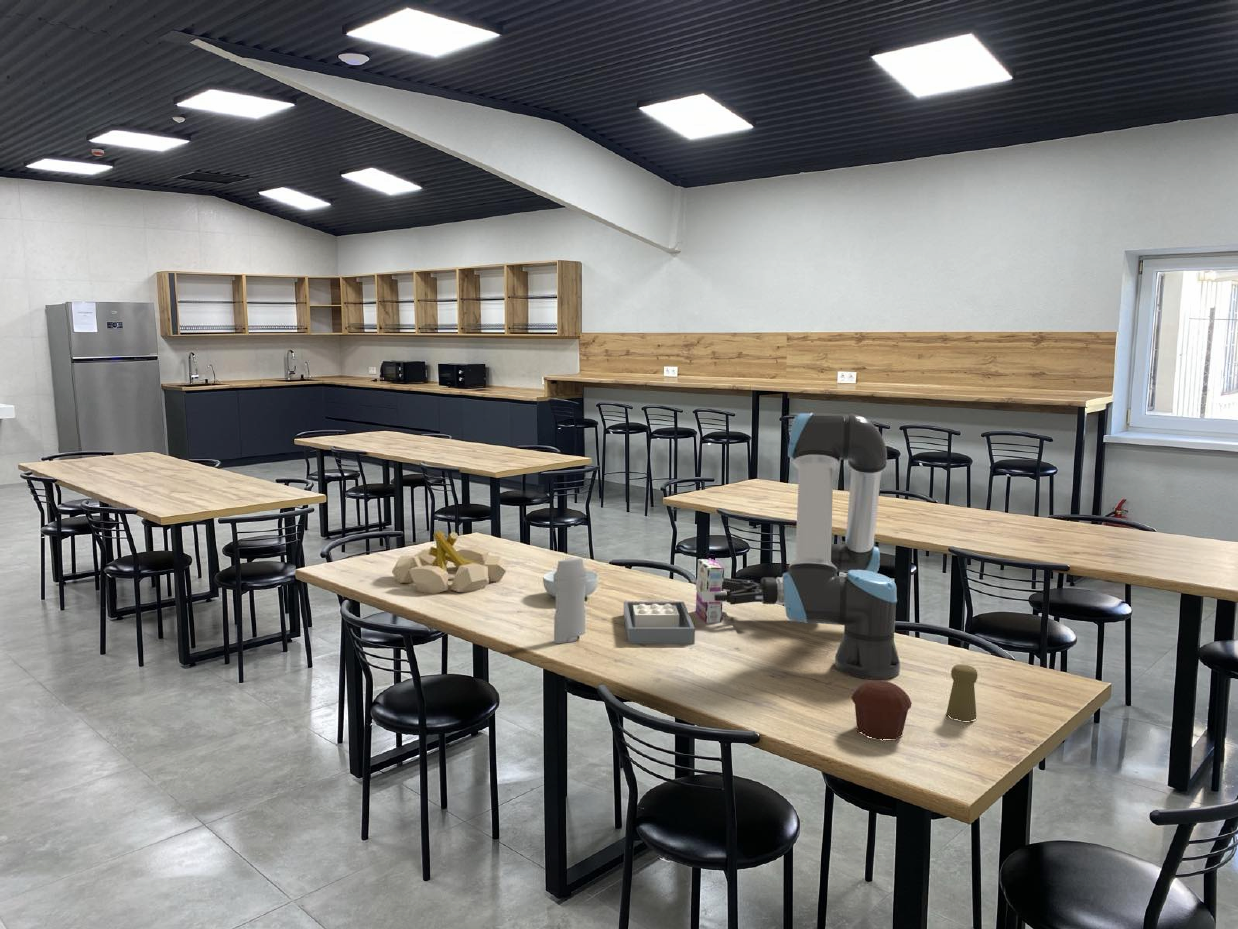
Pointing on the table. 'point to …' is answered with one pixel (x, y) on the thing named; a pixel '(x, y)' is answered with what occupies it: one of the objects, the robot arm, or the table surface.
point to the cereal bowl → (589, 585)
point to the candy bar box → (709, 589)
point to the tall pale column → (569, 600)
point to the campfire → (432, 570)
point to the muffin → (881, 709)
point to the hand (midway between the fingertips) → (699, 590)
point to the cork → (963, 693)
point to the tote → (659, 634)
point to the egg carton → (655, 615)
